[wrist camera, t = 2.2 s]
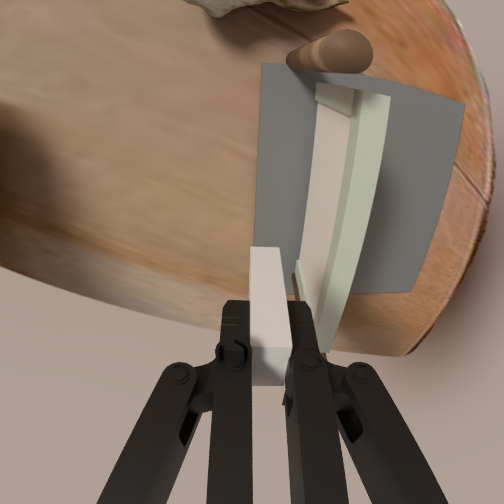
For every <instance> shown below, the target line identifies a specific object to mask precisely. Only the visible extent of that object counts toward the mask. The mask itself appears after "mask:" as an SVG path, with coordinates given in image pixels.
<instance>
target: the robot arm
mask: <svg viewBox="0 0 504 504" xmlns="http://www.w3.org/2000/svg"><path fill="white" fill-rule="evenodd" d="M215 353H216V358H215V359H214V360H213V361H212V362H210V363H208V364H205V365H202V366H198V367H192V366H191V365H189V364H187V363H182V362H177V363H173V364H171V365H169V366H167V367H166V369H165V370H164V371H163V373H162V375H161V377H160V378H159V380H158V382H157V384H156V386H155V388H154V390H153V392H152V394H151V396H150V398H149V400H148V401H147V403H146V406H145V407H144V409H143V411H142V413H141V415H140V417H139V419H138V421H137V423H136V425H135V427H134V429H133V431H132V433H131V435H130V437H129V439H128V441H127V443H126V445H125V447H124V449H123V451H122V453H121V455H120V457H119V459H118V461H117V463H116V465H115V467H114V469H113V471H112V473H111V475H110V477H109V479H108V481H107V483H106V485H105V487H104V489H103V491H102V493H101V495H100V497H99V500H98V502H97V504H166V503H167V500H168V498H169V495H170V492H171V490H172V488H173V485H174V483H175V480H176V478H177V476H178V473H179V471H180V468H181V465H182V463H183V461H184V458H185V455H186V453H187V450H188V448H189V445H190V443H191V441H192V438H193V436H194V433H195V431H196V428H197V425H198V423H199V420H200V418H201V415H202V413H203V412H208V411H212V423H211V436H210V437H211V438H210V451H209V467H208V483H207V502H206V503H207V504H253V486H252V485H253V484H252V483H253V476H252V474H253V473H252V386H283V385H284V382H285V388H286V390H285V394H284V398H283V403H282V405H285V413H286V429H287V444H288V460H289V476H290V494H291V504H349V501H348V493H347V485H346V478H345V471H344V464H343V458H342V451H341V444H340V438H339V432H338V429H339V431H340V434H341V436H342V438H343V440H344V442H345V445H346V447H347V449H348V451H349V454H350V456H351V458H352V460H353V462H354V465H355V467H356V469H357V471H358V473H359V475H360V478H361V480H362V482H363V485H364V487H365V489H366V491H367V493H368V496H369V498H370V500H371V502H372V504H448V502H447V500H446V498H445V496H444V494H443V492H442V490H441V488H440V486H439V484H438V482H437V480H436V478H435V476H434V474H433V472H432V470H431V468H430V467H429V465H428V463H427V461H426V459H425V457H424V455H423V453H422V452H421V450H420V448H419V446H418V444H417V442H416V441H415V439H414V437H413V435H412V434H411V432H410V430H409V428H408V426H407V424H406V423H405V421H404V419H403V417H402V416H401V414H400V412H399V410H398V408H397V407H396V405H395V403H394V402H393V400H392V398H391V396H390V395H389V393H388V391H387V390H386V388H385V386H384V384H383V383H382V381H381V380H380V378H379V376H378V374H377V373H376V371H375V370H374V368H373V367H372V366H370V365H369V364H367V363H363V362H355V363H352V364H351V365H349V366H348V368H347V367H342V366H338V365H334V364H332V363H329V362H328V361H326V360H325V359H324V358H323V357H322V355H321V353H320V351H319V346H318V341H317V336H316V331H315V326H314V321H313V316H312V312H311V308H310V307H309V306H308V304H307V303H306V302H305V301H287V300H286V292H285V285H284V278H283V270H282V263H281V256H280V249H279V247H250V272H249V301H243V300H228V301H227V302H226V304H225V305H224V307H223V312H222V322H221V332H220V342H219V343H218V344H217V346H216V349H215Z"/></svg>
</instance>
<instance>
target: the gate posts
mask: <svg viewBox="0 0 504 504" xmlns="http://www.w3.org/2000/svg"><path fill="white" fill-rule="evenodd" d="M372 59H373V50H372V47H371V44H370V42H369V41H368V40H367V38H366V37H365V36H363V35H362V34H361V33H359V32H357V31H354V30H350V29H344V30H339V31H337V32H335V33H332V34H330V35H327V36H325V37H323V38H320V39H318V40H316V41H313V42H311V43H309V44H307V45H304V46H302V47H300V48H298V49H296V50H294V51H292V52H290V53H289V54H288V55H287V57H286V64H287V65H288V67H289V68H290V69H291V70H293V71H295V72H312V73H344V74H358V73H361V72H363V71H365V70H366V69H367V68H368V67H369V66H370V64H371V62H372ZM291 277H292V283H293V288H294V294H295V299H296V301H301V300H300V295H299V290H298V285H297V280H296V276H295V272H293V274H292V276H291ZM321 355H322V357H323V358H324V359H325V360H326V361H327V358H326V353H321Z"/></svg>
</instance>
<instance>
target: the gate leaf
mask: <svg viewBox="0 0 504 504" xmlns="http://www.w3.org/2000/svg"><path fill="white" fill-rule="evenodd" d="M390 99H391V97H390V96H386V95H382V94H378V93H374V92H370V91H365V90H360V89H356V88H351V87H345V86H340V85H334V84H327V83H319V82H316V94H315V100H317V101H318V107H317V118H316V128H315V138H314V148H313V157H312V166H311V175H310V183H309V191H308V199H307V207H306V215H305V222H304V229H303V236H302V243H301V250H300V257H299V260H296V267H295V276H296V280H297V285H298V290H299V295H300V300H301V301H305V302H306V303H307V304H308V306H309V307H310V308H311V312H312V316H313V321H314V326H315V331H316V336H317V341H318V346H319V351H320V353H329V352H330V349H331V346H332V343H333V340H334V338H335V335H336V332H337V329H338V326H339V323H340V320H341V317H342V314H343V311H344V307H345V304H346V301H347V298H348V295H349V291H350V288H351V285H352V281H353V278H354V274H355V271H356V267H357V264H358V260H359V256H360V253H361V249H362V245H363V241H364V237H365V233H366V229H367V225H368V221H369V217H370V212H371V208H372V204H373V199H374V194H375V190H376V185H377V180H378V175H379V170H380V164H381V159H382V153H383V147H384V141H385V135H386V129H387V122H388V115H389V107H390Z"/></svg>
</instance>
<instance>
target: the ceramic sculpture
mask: <svg viewBox="0 0 504 504" xmlns="http://www.w3.org/2000/svg"><path fill="white" fill-rule="evenodd" d="M184 1H185V2H187V3H189V4H192V5H196V6H200V7H201V8H203V9H204V10H205V11H206V12H207V13H208V14H209V15H210V16H211V17H216V18H220V17H223V16H224V15H225V14H227V13H229V12H230V11H231V10H232V9H236V8H239V7H243V6H246V5H250V6H251V5H254V4H261V3H263V2H272V3H274V4H277V5H278V6H280V7H282V8H285V9H288V10H292V11H296V12H298V11H300V12H316V11H321V10H325V9H330V8H333V7H335V6H337V5H341V4H345V3H348V2H349V1H348V0H184Z"/></svg>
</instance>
